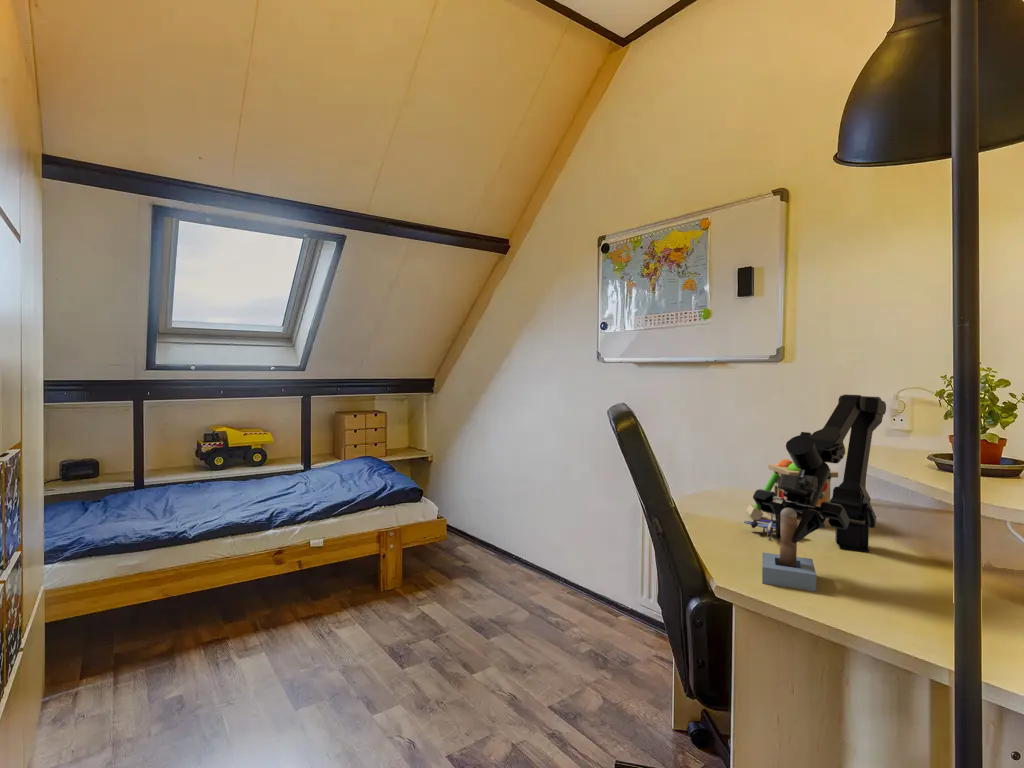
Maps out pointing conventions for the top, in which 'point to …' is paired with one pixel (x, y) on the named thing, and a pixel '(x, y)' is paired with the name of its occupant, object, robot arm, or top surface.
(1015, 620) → the top surface
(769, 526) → the toy airplane
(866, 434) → the robot arm
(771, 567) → the slotted blue base
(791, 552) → the walnut peg
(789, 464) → the pounding bench toy
